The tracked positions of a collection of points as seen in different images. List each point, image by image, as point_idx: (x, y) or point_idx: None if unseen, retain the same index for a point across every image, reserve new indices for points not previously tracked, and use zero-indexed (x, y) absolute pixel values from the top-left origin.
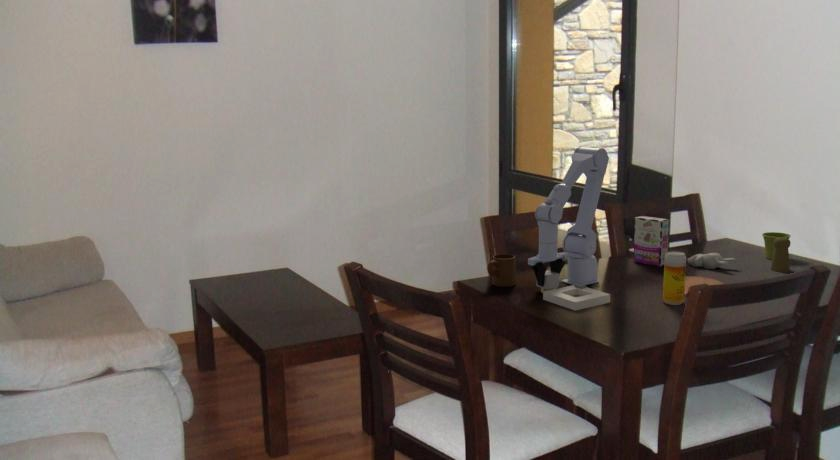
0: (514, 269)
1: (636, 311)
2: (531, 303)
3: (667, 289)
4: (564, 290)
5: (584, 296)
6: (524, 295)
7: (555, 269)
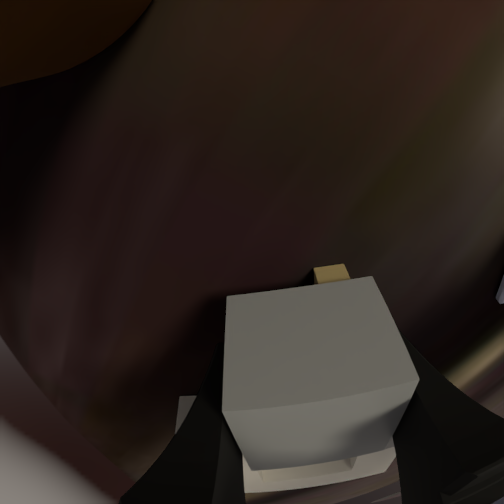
0: (10, 43)
1: (360, 478)
2: (107, 402)
3: None
4: None
5: (299, 480)
6: (103, 312)
7: (406, 448)
